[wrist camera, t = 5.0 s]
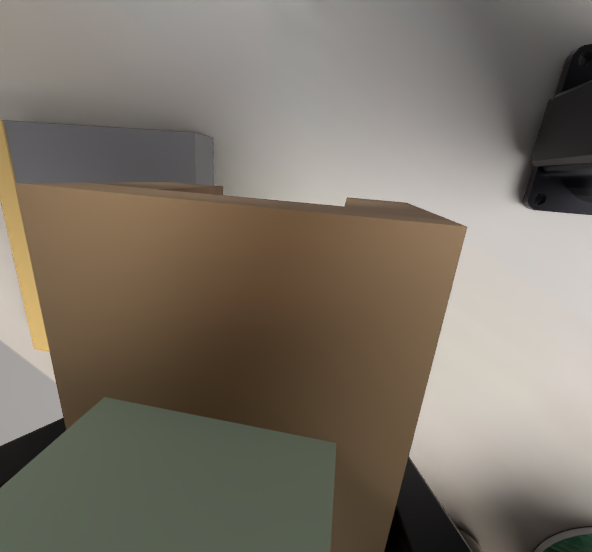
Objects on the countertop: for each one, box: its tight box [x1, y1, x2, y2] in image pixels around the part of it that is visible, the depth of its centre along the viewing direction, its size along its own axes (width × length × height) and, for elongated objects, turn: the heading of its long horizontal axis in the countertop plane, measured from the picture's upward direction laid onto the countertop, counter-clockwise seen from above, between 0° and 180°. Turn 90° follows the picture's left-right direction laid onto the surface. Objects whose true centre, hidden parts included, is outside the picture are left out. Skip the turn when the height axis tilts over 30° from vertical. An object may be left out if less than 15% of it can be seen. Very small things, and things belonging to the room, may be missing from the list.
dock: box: [0, 120, 213, 352], centre depth 18 cm, size 12×14×2 cm
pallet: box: [15, 182, 467, 552], centre depth 8 cm, size 6×12×4 cm, turn 175°
